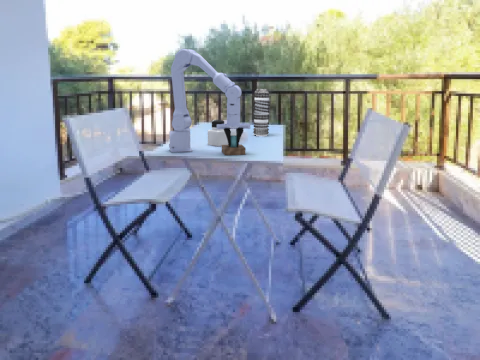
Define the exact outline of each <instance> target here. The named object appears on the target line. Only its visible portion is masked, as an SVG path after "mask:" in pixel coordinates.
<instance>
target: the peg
mask: <svg viewBox="0 0 480 360" xmlns="http://www.w3.org/2000/svg"><path fill="white" fill-rule="evenodd" d="M230 139H231V146H230V147H237V136H236V135H232V134H231V138H230Z"/></svg>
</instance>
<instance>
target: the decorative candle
mask: <svg viewBox="0 0 480 360" xmlns="http://www.w3.org/2000/svg"><path fill="white" fill-rule="evenodd" d="M269 94H270V91H269V90H268V89H266V88H257V89H256V90H255V91H254V99H253V101H252V103H254V104H253V110H254V111H253V115H254V119H253V128H252V129H253V132H252V133H253V136H254V135H256V136H255V137H268V136H267V135H269V131H270V129H269V128H270V126H269V124H270V123H269V115H270V108H269V107H270V104H271V101H270V97H269Z"/></svg>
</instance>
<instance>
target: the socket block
mask: <svg viewBox="0 0 480 360" xmlns="http://www.w3.org/2000/svg"><path fill="white" fill-rule="evenodd" d="M246 152H247V151H246V147H245V146H244V145H243V144H242V143H241V144H240V143H239V146H237V147H230V146H229V145H222V146H221V153H222V154H223V155H224V156H245V155H246Z"/></svg>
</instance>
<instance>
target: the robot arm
mask: <svg viewBox="0 0 480 360" xmlns="http://www.w3.org/2000/svg"><path fill="white" fill-rule="evenodd" d="M191 66H195V67H196V66H197V67H199V68H200V69H201V70H202V71H204V72H205V73H206V74H207V75H208V76H209V77H211V78H212V83H213V84H214V85H215V86H216V87H217V88H218V89H219V90H221V92H222V93H225V94H224V95H225V97H226V98H227V99H226V123H224V124H217V129H224V132H225V134H226V137H227V140H228V145H229V146H231V139H230V138H231V135H232V131H231V130H235V132H236V133H235V134H236V135H235V136H237V146H239V144H240V140H241V137H242V135H243V133H244V130H245V129H246V130H247V129H248V130H250V129H251V123H241V96H242V89H241V87H240V86H239V85H237V84H236V83H235V81H232V80H231V79H230V78H229V77H228V75H227V73H223V72H218V71H217V70H216V69H215V68H214V66H212V65H211V64H210V63H209V62H208V61H207V60H206V59H205V58H204V57H203V55H201V54H200V53H198V52H197V51H196V50H194V49H191V48H190V49H189V48H180V49H179V51H177V52H176V53H175V54H174V60H173V62H172V65H171V67H170V72H171V73H170V74H171V81H172V83H171V84H172V93H173V94H172V95H173V102H174V105H173V106H174V111H173V112H172V113H173V114H172V120H171V127H172V128H173V130H169V131H168V132H169V135H168V137H169V143H168V148H169V150H170V151H169V152H170V153H181V152H182V153H185V152H193V149H192V148H191V129H190V127H191V126H192V124H193V120H192V118H191V116H190V111H189V110H188V108H187V107H188V106H187V98H186V87H185V84H186V83H185V75H184V72H185V71H186V70H187V69H188V68H189V67H191Z"/></svg>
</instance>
